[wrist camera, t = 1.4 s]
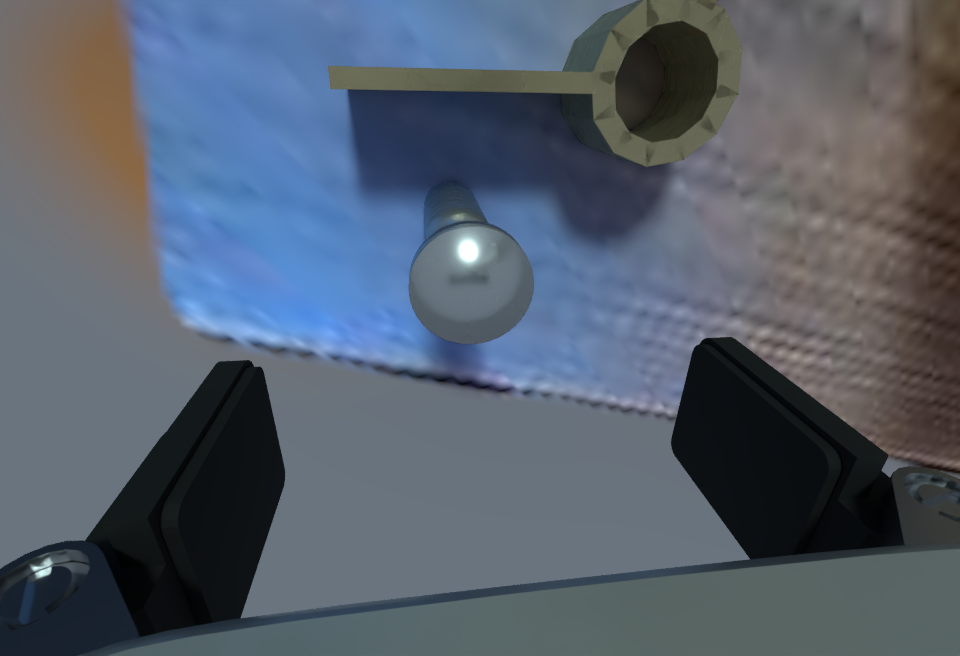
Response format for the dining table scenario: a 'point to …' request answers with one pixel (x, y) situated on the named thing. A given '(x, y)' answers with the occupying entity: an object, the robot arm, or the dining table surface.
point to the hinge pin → (467, 271)
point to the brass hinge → (612, 79)
